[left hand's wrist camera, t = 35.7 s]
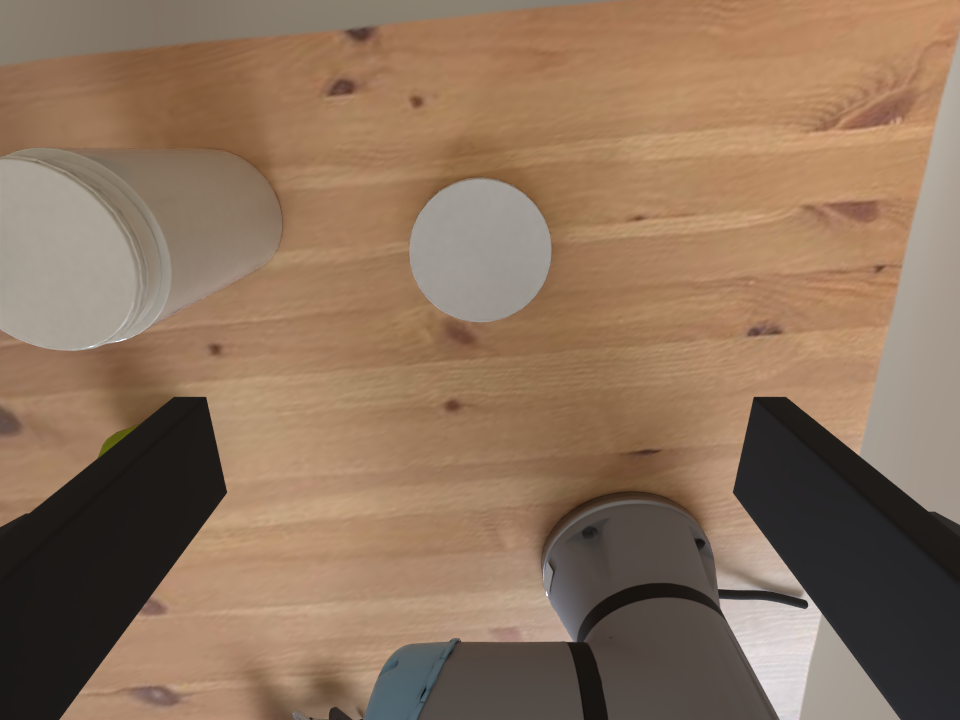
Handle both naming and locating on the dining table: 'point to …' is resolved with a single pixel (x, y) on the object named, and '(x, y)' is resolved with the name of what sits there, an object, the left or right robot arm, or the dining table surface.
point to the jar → (124, 238)
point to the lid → (480, 249)
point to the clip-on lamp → (335, 716)
